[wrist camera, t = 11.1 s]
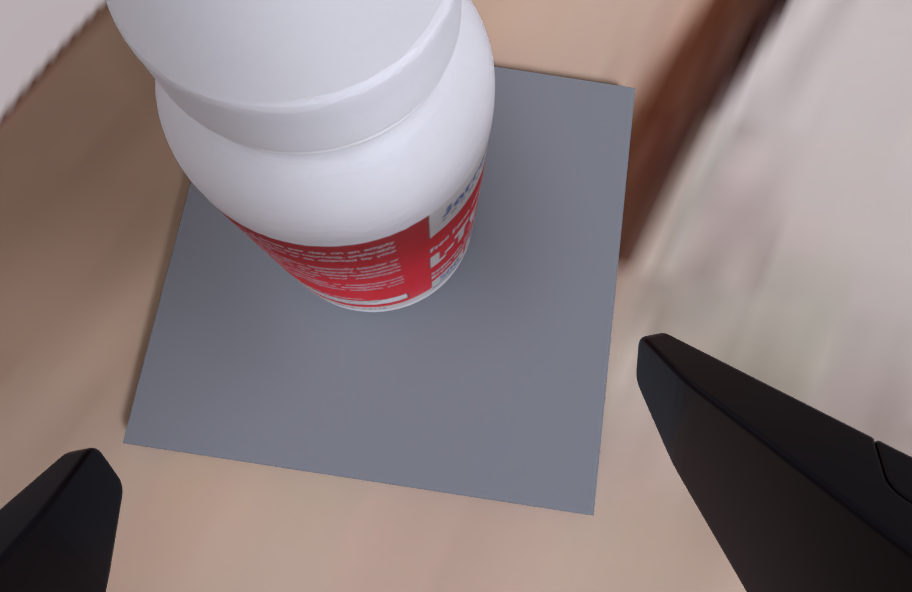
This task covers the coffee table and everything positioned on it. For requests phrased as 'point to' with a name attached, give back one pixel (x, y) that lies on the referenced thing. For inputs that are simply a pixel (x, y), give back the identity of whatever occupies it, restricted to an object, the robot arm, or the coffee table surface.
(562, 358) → the mat
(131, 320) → the coffee table surface
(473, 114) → the pill bottle
